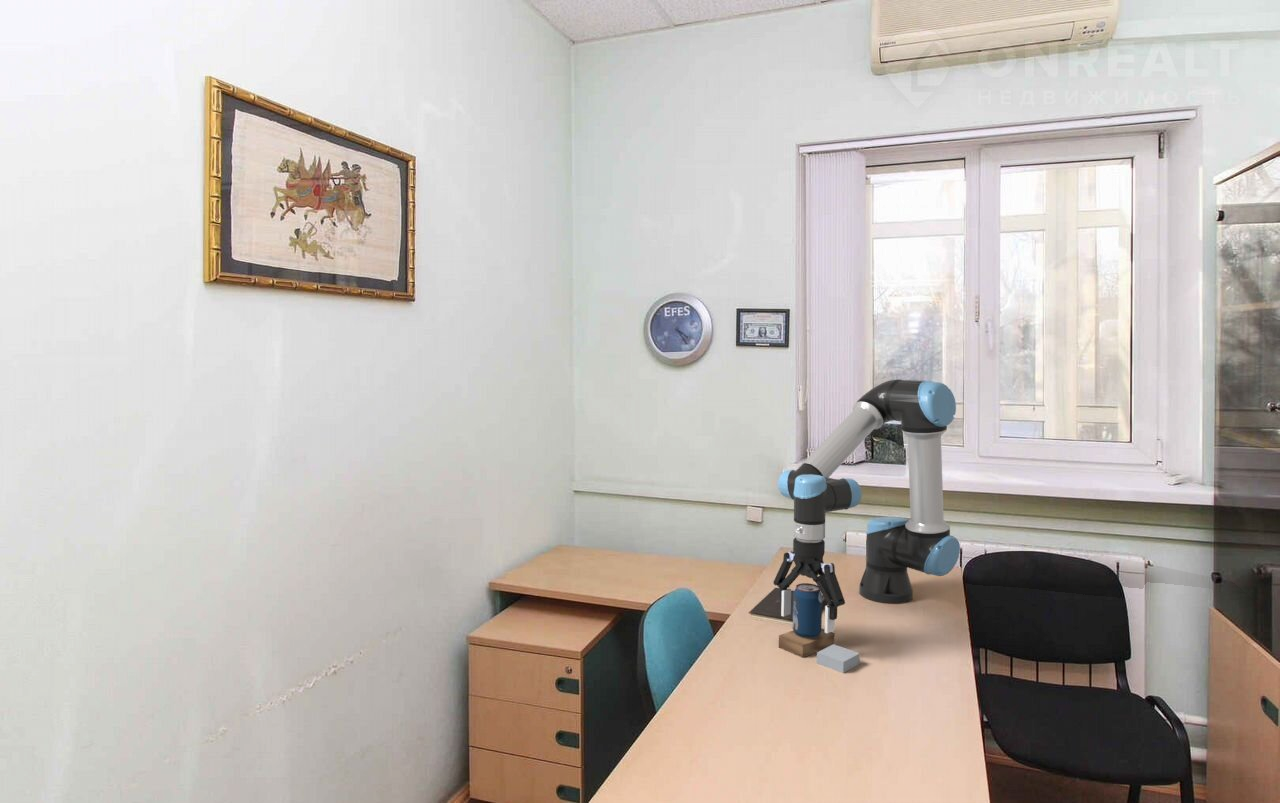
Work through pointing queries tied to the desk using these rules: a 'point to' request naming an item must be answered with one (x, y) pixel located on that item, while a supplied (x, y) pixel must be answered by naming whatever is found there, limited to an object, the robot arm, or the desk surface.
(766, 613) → the hardcover book
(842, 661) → the slate block
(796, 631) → the soda can
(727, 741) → the desk surface
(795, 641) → the walnut block
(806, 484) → the robot arm
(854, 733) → the desk surface
